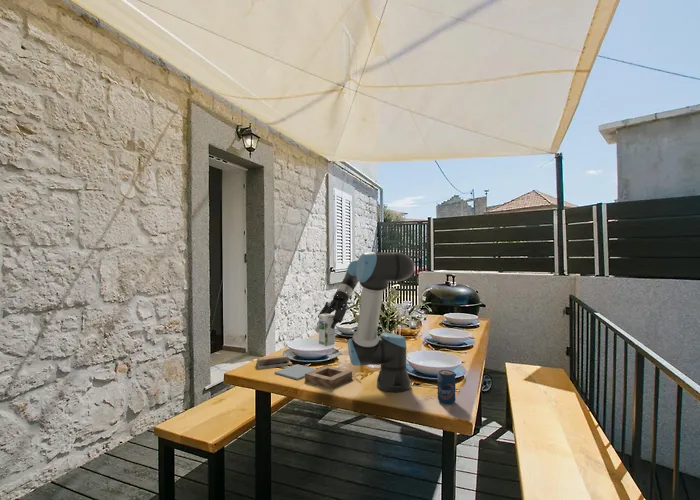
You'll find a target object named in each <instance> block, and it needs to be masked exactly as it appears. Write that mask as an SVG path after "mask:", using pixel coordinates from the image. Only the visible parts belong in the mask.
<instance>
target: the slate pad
mask: <svg viewBox="0 0 700 500" xmlns="http://www.w3.org/2000/svg"><path fill="white" fill-rule="evenodd" d="M316 369H317V368H314V367H310V366H305V365H301V364H299V363H298V364H294V365H293V364H292V365H290V366H289V367H288V366H287V367H285V368H282V369H280V370H276V371H274V374H276V375H279V376H282V377H285V378H288V379H293V380H295V381H296V380H297V381H298V380H302V379H305V374H306V373H308V372H311V371H313V370H316Z"/></svg>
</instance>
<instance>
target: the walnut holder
mask: <svg viewBox="0 0 700 500" xmlns="http://www.w3.org/2000/svg"><path fill="white" fill-rule="evenodd" d="M315 369H316V370H313V371H311V372H308V373H306V374H305V377H304V381H305V382H307V383H311V384H314V385H318V386H321V387H323V388H328V389H333V388H335V387H337V386H340V385H341V384H344V383H346V382H348V381H350V380H352V379H353V371H352V370H349V369H344V368H340V367H335V366H331V365H327V364H326V365H324V366H322V367H319V368H315Z"/></svg>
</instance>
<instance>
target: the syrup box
mask: <svg viewBox="0 0 700 500" xmlns="http://www.w3.org/2000/svg"><path fill="white" fill-rule="evenodd" d="M318 315H319V314H318ZM334 316H335V314H332V313H331V314H320V315H319V318H318V321H319V333H318V345H320V346H323V347H324V346H325V347H329V346H332V345H335V338H336V336H335V333H336V326H335V327H334V329H332V331H331V333H330V335H328V334H327V333H326V332H325V331H326V330H327V328H328V326H329V324H330V322H331V321H332V320H333V321H334Z"/></svg>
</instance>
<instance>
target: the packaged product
mask: <svg viewBox="0 0 700 500" xmlns="http://www.w3.org/2000/svg"><path fill="white" fill-rule="evenodd" d="M288 365H290V366H293V362H291V360H290V357H289V355H286V354H285V355H273V356H262V357H261V356H260V357H258V358H257V359H256V366H257V369H259V370H263V369H270V368H271V369H272V368H280V367H288Z"/></svg>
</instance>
